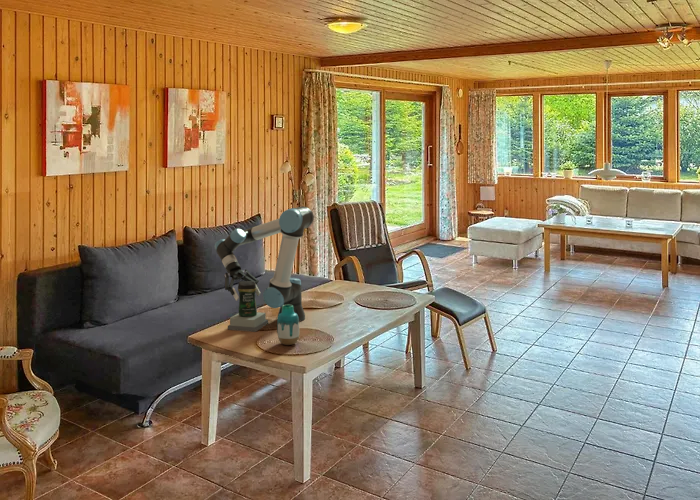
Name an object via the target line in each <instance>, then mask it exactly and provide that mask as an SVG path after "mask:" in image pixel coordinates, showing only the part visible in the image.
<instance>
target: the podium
mask: <svg viewBox="0 0 700 500" xmlns="http://www.w3.org/2000/svg"><path fill="white" fill-rule="evenodd" d="M266 318H267V316H266V312H258V311H257V314H256V315H255V316H250V317H241V316H239V312H238V313H236V314H235V315H233V316H230V317H229V324H228V325H227V330H228V331H229V330H230V331H241V332H251V333H252V332H253V333H255V332H258V331H259V330H261V329H262V328H264V327H265V326H267V325H268V324H269V319H266ZM267 323H268V324H267ZM266 324H267V325H266ZM263 326H264V327H263Z"/></svg>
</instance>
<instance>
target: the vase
mask: <svg viewBox="0 0 700 500" xmlns="http://www.w3.org/2000/svg"><path fill="white" fill-rule="evenodd" d="M276 324H277V325H276V329H277V331H276V332H277V338H278V341H279V343H281V344H282V345H285V346H290V345H294V344H296V343H297V342H298V341H299V338H300V321H299V318H298V315H297V313H295V312H294V309H293V305H290V304H287V305H283V306H282V313H280V314H279V315H278V314H277V320H276Z"/></svg>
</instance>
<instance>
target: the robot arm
mask: <svg viewBox="0 0 700 500" xmlns="http://www.w3.org/2000/svg"><path fill="white" fill-rule="evenodd" d="M314 219H315V215H314V213H313V211H312V209H310V208H309V207H308V206H303V205H302V206H297V207H292V208H288V209H285V210H284V211H283V212H281V214H280V215H279V218H276V219H272V220H270V221H267V222H264V223H261V224H258V225H256V226H253V227H249V228H247V229H244V230H243V229H242V228H234V229H233V230H232V231H231V232H230V234H229V235H228V236H227V237H226V238H222V239H219V240H218V241H215V243H214V250H215V251H216V253H217V255H218V257H219V258H220V260H221V262H222V265H223V266H224V268H225V270H226V272H225V274H224V275H223V278H224V290H225V291H228V292H230V294H231V296H233V298H234V300H235V302H236V301H237V302H238V301H239V294H238V291H237V290H236V289H235V287H234V283H235V281H241V280H242V281H255V285H256V291H255V295H256V297H259V296H260V295H261V293H262V292H261V291H260V287H259V285H258V284H259V282H260V281H259V280H258V279H257V278H256V277H255V276H254V275H253V273H250V272H249V270H248V269H247V268H246V269H244V270H243V269H242V268H241V267H242V266H241V265H240V263H239V261H238V259H237V257H236V256H235V254H234V251H235V250H237V249H238V247H239V246H242V245H246V244H250V243H255V242H256V241H258V240H262V239H265V238H269V237H271V236H274V235H277V234H281V235H282V237H281V242H280V245H279V250H278V251H279V252H278V256H277V259H276V264H275V269H274V273H273V277H272V278H270V279H269V282H268V287H267V288H265V289H264V291H263V293H262V298H263V301H264V302H265V304H266V305H267V306H268V307H269V308H272V309H278V313H277V316H278V315H279V314H280V313H282V306H283V305H287V304H290V305H293V309H294V312H295V313H297V315H298V318H299V322H303V321H304V320H305V319H306V314H305V311H304V308H303V301H302V299H303V298H302V280H301V279H300V278H297V277H291V276H292V271H293V266H294V262H295V259H296V258H295V257H296V255H297V248H298V245H299V240H300V239H301V238H302V237H303V236H304V232H305V229H308V228H310V227H311V225H312V224H313V223H314V221H315V220H314ZM230 278H231V279H230Z"/></svg>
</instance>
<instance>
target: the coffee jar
mask: <svg viewBox="0 0 700 500" xmlns="http://www.w3.org/2000/svg"><path fill="white" fill-rule="evenodd" d="M255 291H256V285H255V281H245V280H242V281H241V280H239V281H238V285H237V292H238V293H239V294H238V296H239V299H238V301H239V302H238V313H239V316H241V317H250V316H255V315H256V314H257V312H258V309H257V303H256V292H255Z"/></svg>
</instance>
